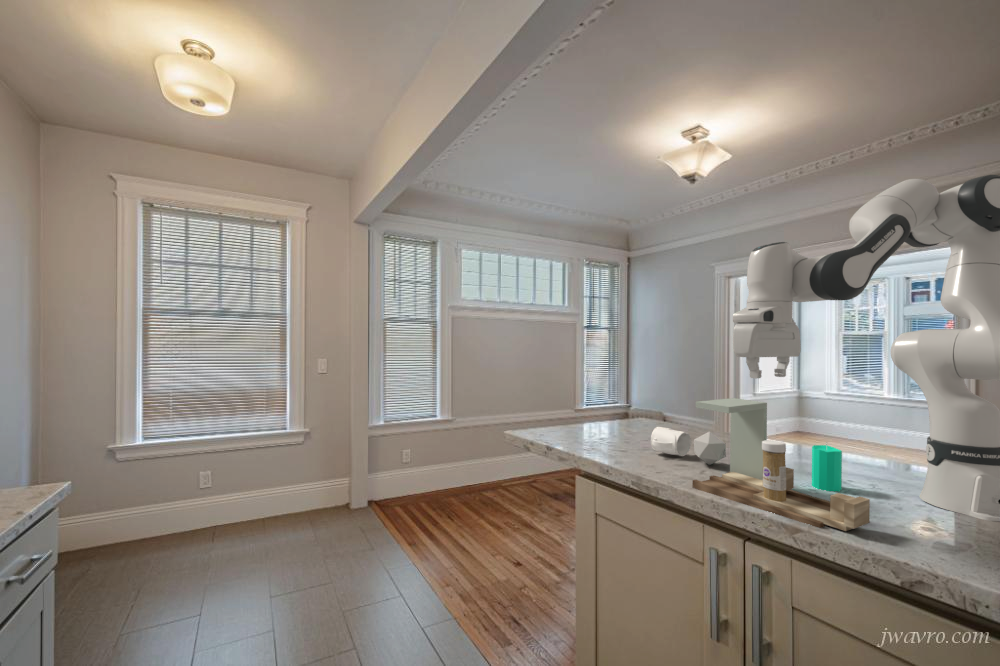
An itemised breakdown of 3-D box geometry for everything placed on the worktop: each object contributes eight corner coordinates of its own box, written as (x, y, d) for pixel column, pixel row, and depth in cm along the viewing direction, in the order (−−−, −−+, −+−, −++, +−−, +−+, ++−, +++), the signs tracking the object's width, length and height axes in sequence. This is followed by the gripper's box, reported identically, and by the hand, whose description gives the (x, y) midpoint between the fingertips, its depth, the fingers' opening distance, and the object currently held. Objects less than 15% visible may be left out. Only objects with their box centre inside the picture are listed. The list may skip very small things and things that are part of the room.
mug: (664, 448, 152) (665, 424, 152) (691, 454, 145) (691, 429, 145) (644, 454, 144) (645, 429, 144) (671, 460, 137) (672, 434, 137)
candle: (811, 484, 116) (812, 438, 116) (840, 489, 112) (841, 441, 112) (811, 491, 111) (811, 442, 111) (842, 496, 107) (842, 446, 107)
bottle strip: (869, 528, 86) (869, 499, 86) (853, 535, 83) (854, 504, 83) (767, 496, 103) (767, 471, 103) (751, 500, 100) (751, 475, 100)
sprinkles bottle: (758, 501, 100) (757, 440, 100) (771, 498, 102) (769, 438, 102) (779, 508, 96) (777, 444, 96) (792, 504, 98) (790, 442, 98)
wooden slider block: (793, 493, 105) (793, 469, 105) (778, 497, 102) (778, 472, 102) (734, 475, 118) (735, 454, 118) (720, 479, 115) (720, 457, 115)
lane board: (857, 518, 95) (857, 509, 95) (819, 532, 87) (819, 523, 87) (730, 478, 120) (730, 471, 120) (692, 487, 113) (692, 480, 113)
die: (730, 470, 127) (730, 435, 127) (696, 468, 129) (696, 433, 129) (721, 462, 136) (722, 429, 136) (690, 460, 137) (690, 427, 138)
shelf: (766, 488, 113) (766, 402, 113) (728, 498, 105) (728, 406, 105) (732, 477, 121) (733, 398, 121) (695, 486, 113) (695, 401, 113)
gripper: (780, 317, 108) (779, 374, 108) (727, 314, 98) (726, 377, 98) (809, 316, 102) (808, 377, 102) (756, 313, 92) (755, 380, 92)
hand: (768, 377), depth 100 cm, fingers open, 8 cm apart
